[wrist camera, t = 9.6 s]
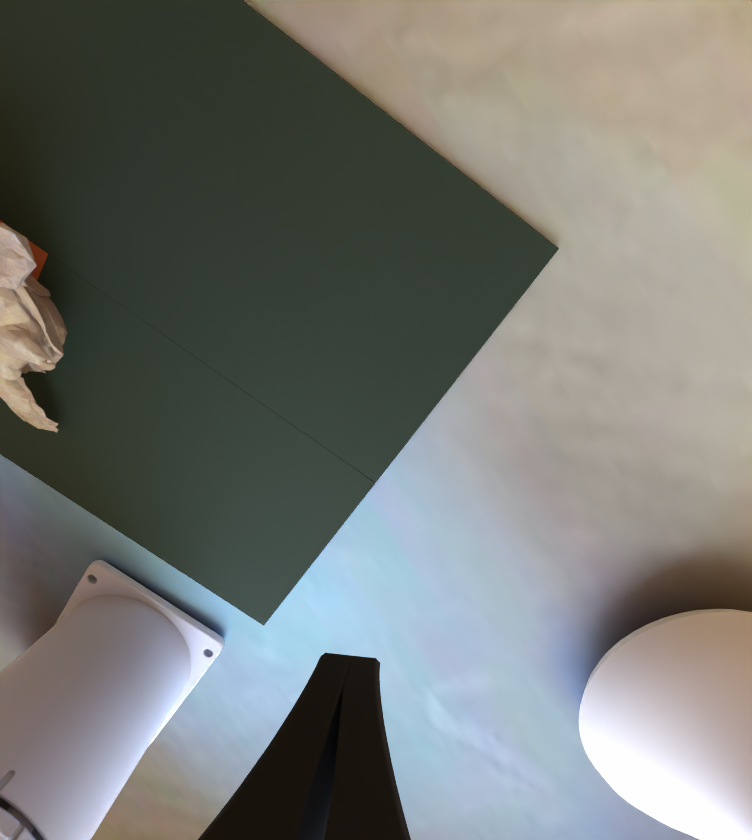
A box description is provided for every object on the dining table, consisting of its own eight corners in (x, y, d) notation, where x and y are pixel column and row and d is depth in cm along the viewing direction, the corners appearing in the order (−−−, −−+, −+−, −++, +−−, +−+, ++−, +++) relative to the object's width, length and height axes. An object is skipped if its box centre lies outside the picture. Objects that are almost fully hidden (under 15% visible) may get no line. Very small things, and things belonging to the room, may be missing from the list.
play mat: (264, 622, 21) (263, 625, 21) (-232, 299, 19) (-238, 299, 19) (557, 249, 15) (559, 248, 15) (-103, -269, 13) (-111, -278, 13)
